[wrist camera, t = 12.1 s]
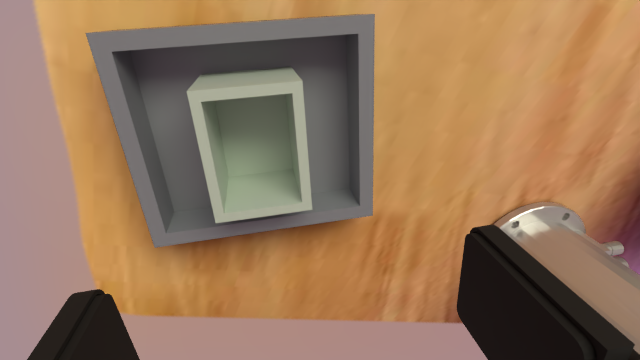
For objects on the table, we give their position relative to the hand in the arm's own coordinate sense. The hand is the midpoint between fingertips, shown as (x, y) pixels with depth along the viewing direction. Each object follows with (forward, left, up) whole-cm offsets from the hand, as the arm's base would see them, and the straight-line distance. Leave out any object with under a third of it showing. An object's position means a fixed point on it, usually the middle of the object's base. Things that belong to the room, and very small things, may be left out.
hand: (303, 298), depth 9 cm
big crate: (+1, 0, -19) cm, 19 cm away
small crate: (+1, 0, -18) cm, 18 cm away
